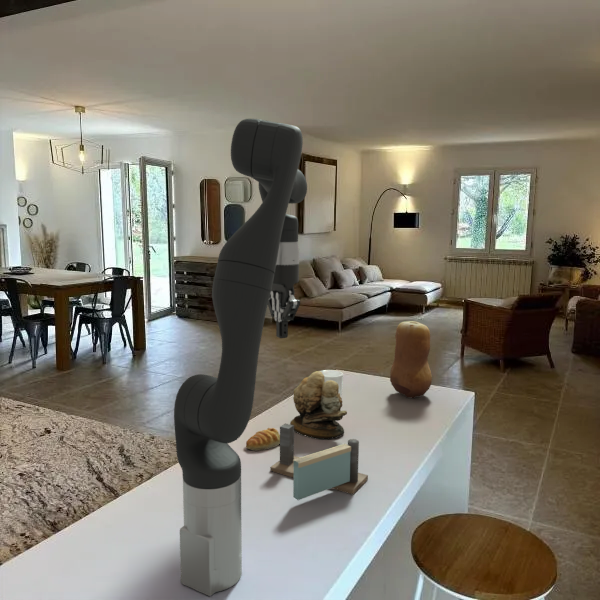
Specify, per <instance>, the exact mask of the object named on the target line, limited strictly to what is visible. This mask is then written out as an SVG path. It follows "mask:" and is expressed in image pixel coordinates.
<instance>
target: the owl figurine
mask: <svg viewBox="0 0 600 600" xmlns="http://www.w3.org/2000/svg"><path fill="white" fill-rule="evenodd" d="M320 371H321V370H318V371H313V372H312V373H311V374H310V375H309V376H306V377H304V378H303V379H302V380H301V382H300V383H299V384H298V386H297V387H295V388H294V390H293V399H292V400H293V404H294V407H295V409H296V411H297V412H298V415H296V416H295V417H294V418H293V419H292V420H290V423H289V424H290V425H294V432H295V431H296V432H295V433H297V432H298V433H297V434H299V433H300V434H299V435H301V434H302V436H304V435H306V436H305V437H307V436H308V437H307V438H310V437H311V439H315V438H316V440H333V439H337V438H340V437H341V436H343V435H345V429H344V427H343V426H342V425H341V424H340V423H339V421H341V420H342V419H343V418H344V416H346V415H347V414H348V411H347V410H341V408H343V397H342V396H341V397H340V393H338V392H339V390H338V389H339V386H338V383H337V382H335V381H332V380H329V381H326V382H325V380H324V375H323V374H322V372H320Z"/></svg>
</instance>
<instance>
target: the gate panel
mask: <svg viewBox="0 0 600 600" xmlns="http://www.w3.org/2000/svg"><path fill="white" fill-rule="evenodd" d="M350 452H351V446H349V445H348V443H343V444H342V443H341V444H340V445H336V446H333V447H330V448H326V449H324V450H323V449H322V450H320V451H317V452H313V453H310V454H307V455H305V456H301V457H300V456H299V457H300V458H297V459H294V460H293V465H294V478H293V477H292V478H293V480H292V481H293V486H292V487H293V491H292V492H293V494H292V496H293V498H294V499H295V500H297V501H300V500H303V499H305V498H309V497H310V496H314V495H316V494H319V493H321V492H324V491H327V490H330V489H332V488H333V487H336V486H338V485H341V484H344V483H346V482H349V481H350Z"/></svg>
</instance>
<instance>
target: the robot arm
mask: <svg viewBox="0 0 600 600" xmlns="http://www.w3.org/2000/svg"><path fill="white" fill-rule="evenodd" d="M303 140H304V139H303V133H302V131H301V129H300V128H299V127H298V126H296V125H294V124H293V125H292V124H288V123H283V122H277V121H271V120H265V119H258V118H245V119H242V120H241V121H239V122H238V123H237V125H236V126H235V128H234V131H233V134H232V138H231V144H230V160H231V163H232V164H231V165H232V166H233V168H234V170H235V171H236V172H237V173H239V174H241V175H243V176H245V177H249V178H251V179H253V180H255V181H256V182H257V183H258V190H259V191H258V192H259V195H260V199H261V204H260V205H259V207H258V208H257V209H256V210H255V212H254V213H253V214H252V215H251V216H250V218H248V219H247V220H246V221H245V222H244V223H243V224H242V225H241V226H240V227H238V229H237V230H236V231H235V232H234V233H233V234H232V235H231V237H229V239H227V240H226V242H225V243H224V244H223V246H222V248H221V249H220V252H219V255H218V259H217V264H216V268H215V272H214V276H213V281H212V282H213V283H212V287H211V288H212V290H211V298H212V304H213V310H214V313H215V317H216V321H217V325H218V329H219V333H220V337H221V339H220V340H221V356H220V364H219V369H218V375H217V376H214V375H213V376H211V375H209V374H201V373H199V374H194V375H191V376H189V377H188V378H186V379H185V381H183V382H182V383H181V386H180V387H179V389H178V390H177V394H176V396H175V400H174V405H173V406H174V408H173V421H174V422H173V423H174V424H173V425H174V435H175V436H174V438H175V450H176V457H177V462H178V464H179V466H180V468H181V472H182V491H183V493H182V494H183V495H182V496H183V500H182V502H183V503H182V504H183V507H182V509H183V525H182V527H180V528H179V558H180V559H179V560H180V561H179V563H180V565H179V566H180V584H181V585H184V586H186V587H188V588H191V589H193V590H195V591H197V592H200V593H202V594H204V595H206V596H208V597H211V596H213V595H214V594H215V593H217V592H221V591H224V590H225V591H226V590H227V589H230V588H231V587H233V586H234V585H236V584H237V583H238V582H239V580H240V579H241V577H242V573H243V572H242V571H243V569H242V567H243V565H242V564H243V563H242V561H243V559H242V558H243V557H242V555H243V554H242V551H243V550H242V547H243V546H242V534H243V533H242V461H241V458H240V456H239V454H238V452H237V451H235V450H234V449H233V448H232V447H231V446H230V445H229V444H232V443H233V442H235V441H237V440H238V439H239V438H240V437H241V436H242V434H243V433H244V432H245V430H246V428H247V427H248V424H249V421H250V418H251V414H252V411H253V405H254V397H255V389H256V379H257V372H258V371H257V370H258V360H259V352H260V345H261V341H262V336H263V335H262V334H263V329H264V324H265V319H266V314H267V309H268V310H269V312H270V316H271V317H272V318H274V321H275V323H276V326H275V327H276V328H275V329H276V335H275V336H276V338H279V339H285V338H286V339H287V338H288V337H289V335H288V334H289V332H288V331H289V322H290V321H294V319H295V317H296V314H297V311H298V310H299V308H300V306H301V300H300V299H296V297H295V294H296V292H295V287H294V285H296V284H298V283H299V282H300V276H299V275H300V248H299V219H298V217H297V216H295V215H293V214H288V213H287V211H288V208H289V204H292V205H293V204H294V205H295V204H299V203H301V202H302V201H303V200H305V198H306V196H307V192H308V182H307V180H306V176H305V175H304V174H303V172H302V171H301V170H300V169H299V165H300V162H301V158H302V152H303V144H304V143H303Z"/></svg>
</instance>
